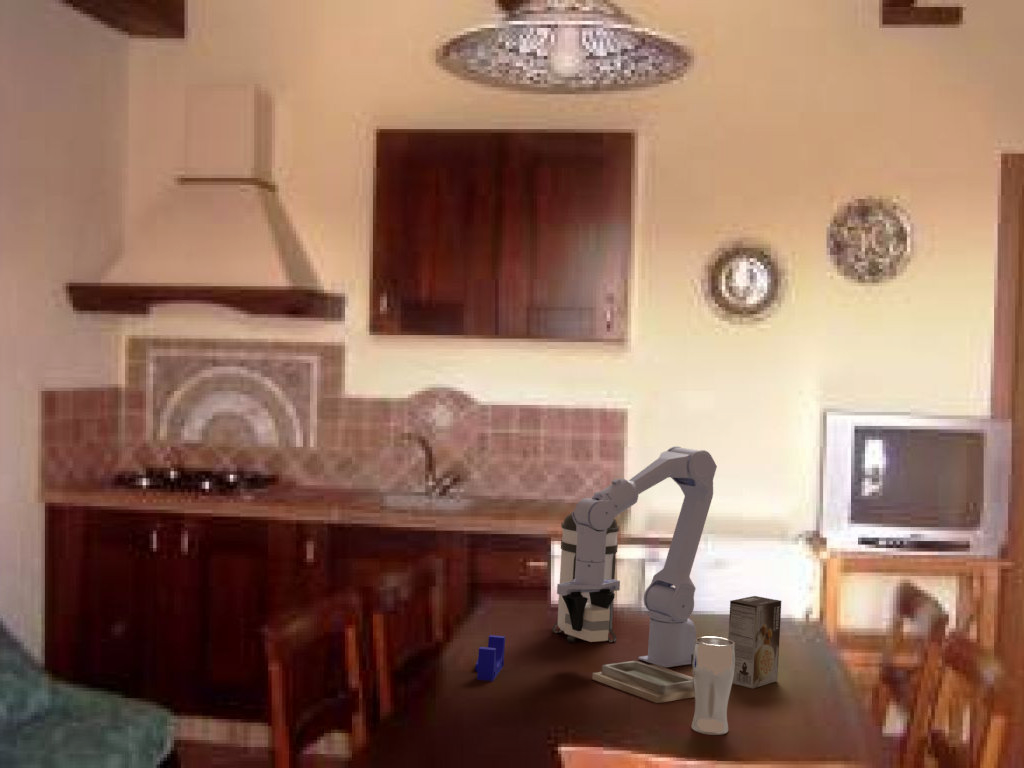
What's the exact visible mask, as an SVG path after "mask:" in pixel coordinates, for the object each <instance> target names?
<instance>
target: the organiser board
mask: <svg viewBox="0 0 1024 768" xmlns="http://www.w3.org/2000/svg"><path fill="white" fill-rule="evenodd" d="M690 665H693V654H691V664H690ZM591 679H592V680H593V681H595V682H599V683H601V684H605V685H607V686H610V687H612V688H615V689H617V690H621V691H623V692H625V693H629V694H632V695H634V696H637V697H640V698H641V699H645V700H648V701H650V702H653V703H655V704H660V703H666V702H667V703H668V702H672V701H677V700H684V699H691V698H695V694H694V685H693V676H689V675H687V674H684V673H681V672H678V671H674V670H672V669H669V668H667V667H666V668H665V667H661V666H658V665H655V664H647V663H644V662H641V661H637V660H631V661H622V662H616V663H607V664H602V665H601V671H599V672H598V671H597V672H596V671H595V672H592V678H591Z"/></svg>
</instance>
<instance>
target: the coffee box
mask: <svg viewBox="0 0 1024 768" xmlns="http://www.w3.org/2000/svg"><path fill="white" fill-rule="evenodd" d="M729 601H730V602H729V603H730V604H729V618H728V619H729V620H728V638H727V639H729V640H732V641H733V642H734V643H735V644H734V649H735V668H734V677H733V683H732V685H733V684H734V685H737V686H742V687H745V688H749V689H752V690H753V689H756V688H759V687H762V686H763V687H764V686H766V685H769V684H772V683H775V682H777V681H778V677H779V676H778V675H779V671H778V670H779V656H780V653H779V652H780V639H781V637H780V636H781V634H780V633H781V621H782V620H781V616H782V601H783V600H779V599H773V598H768V597H762V596H759V595H758V596H757V595H753V596H748V597H742V598H738V599H737V598H736V599H732V600H729Z"/></svg>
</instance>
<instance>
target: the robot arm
mask: <svg viewBox="0 0 1024 768" xmlns="http://www.w3.org/2000/svg"><path fill="white" fill-rule="evenodd" d="M717 467H718V466H717V464H716V462H715V460H714V458H713V456H712V454H711V453H710V452H709V451H707V450H705V449H704V450H703V449H693V448H691V449H690V448H686V447H685V448H684V447H680V446H676V445H674V446H672V447H670V448H668V449H667V450H666V451H663V452H661V453H660V454H659V456H658V458H657V459H656V460H654V461H653V462H652V463H650V464H649V465H647V466H646V467H645V468H644V469H642V470H641V471H639V472H638V473H637V474H636V475H634V476H633V477H631V478H630V479H626V478H615V479H613V480H611V484H610V485H609V486H607V487H605V488H603V489H602V490H601V491H596V492H594V494H593V496H592V498H591V497H585V498H582V499H581V500H579V501H578V502H577V504H576V505H575V507H574V510H573V511H572V512H571V513H572V517H573V520H574V522H575V524H576V532H577V548H576V567H575V579H573V581H571V582H567V583H562V584H560V583H557V584H556V585H557V586H556V594H557V595H559V594H560V595H562V597H563V599H564V601H565V603H566V606H567V608H568V611H569V615H570V620H571V625H572V629H573V630H576V631H581V630H582V625H583V614H584V609H585V606H586V603H587V600H588V598H586V597H582V596H583V595H581V593H587V592H589V594H590V599H591V604H592V605H596V606H599V607H602V608H606V609H608V607H609V606H610V604H611V602H612V601H613V602H614V600H613V599H615V594H616V593H615V591H616V592H617V591H621V590H620V589H621V585H620V584H621V580H617V579H616V578H615V579H610V580H604V569H605V551H606V532H607V528H609V527H610V526H611V525H612V523H613V520H614V519H616V517H617V516H619V515H620V514H622V513H624V512H625V511H626V510H627V509H629V508H631V507H632V506H634V505H635V504H637V503H638V499H639V495H640V494H642V493H644V492H645V491H647V490H649V489H650V488H652V487H654V486H656V485H658V484H659V483H661V482H663V481H664V480H667V479H668V478H670V479H672V480H673V481H674V483H676V485H678V486H679V488H680V489H681V491H682V494H683V495H684V498H683V500H682V501H683V502H682V505H681V508H680V511H679V515H678V519H677V521H676V525H675V527H674V528H675V529H674V531H673V535H672V538H671V543H670V544H669V549H668V552H667V554H666V555H667V556H666V559H665V562H664V566H663V568H662V569H660V571H658V572H656V573H655V574H654V575H653V577H652V579H651V582H650V584H649V585H648V586H647V588H646V589H645V592H644V595H643V604H644V607H645V609H646V610H647V611H648V616H649V633H648V646H647V647H648V648H647V649H648V650H647V651H648V652H647V655H642V656H638V660H641V661H644V662H646V663H649V664H651V665H653V664H654V665H657V666H660V667H663V668H666V669H667V668H673V667H679V666H687V665H692V664H691V654H694V647H695V639H696V638H697V628H696V626H695V623H694V622H693V620H691V619H690V617H691V615H692V614H693V612H694V608H695V598H694V597H695V592H696V586H695V585H694V582H693V581H692V579H691V577H690V575H691V572H692V568H693V565H694V562H695V559H696V555H697V553H698V548H699V544H700V541H701V538H702V535H703V531H704V527H705V524H706V520H707V517H708V514H709V510H710V507H711V504H712V500H713V495H714V477H715V475H716V471H717ZM584 589H585V590H584ZM610 590H614V593H612V592H610Z"/></svg>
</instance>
